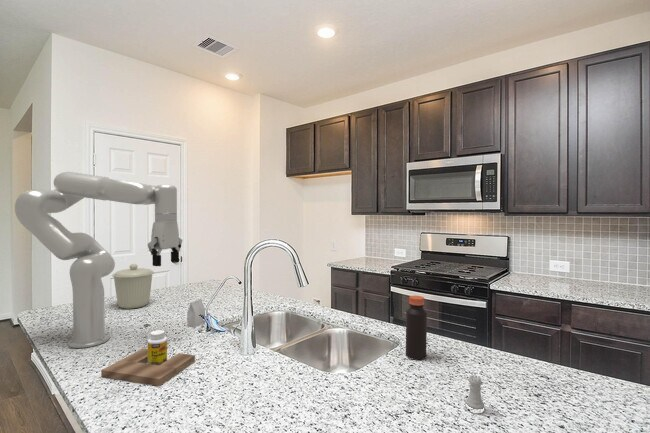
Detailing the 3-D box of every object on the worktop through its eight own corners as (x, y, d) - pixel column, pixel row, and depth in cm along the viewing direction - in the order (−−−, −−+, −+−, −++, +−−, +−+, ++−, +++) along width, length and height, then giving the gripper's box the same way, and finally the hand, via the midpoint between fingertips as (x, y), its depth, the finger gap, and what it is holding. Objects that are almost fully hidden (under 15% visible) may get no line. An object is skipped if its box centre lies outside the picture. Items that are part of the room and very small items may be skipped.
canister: (129, 300, 183) (129, 260, 182) (161, 301, 180) (161, 261, 180) (103, 310, 165) (103, 266, 164) (138, 312, 162) (137, 267, 162)
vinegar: (427, 354, 118) (428, 296, 118) (424, 362, 112) (425, 300, 112) (407, 350, 121) (408, 293, 121) (403, 358, 115) (404, 298, 114)
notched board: (101, 376, 101) (101, 370, 101) (142, 354, 116) (142, 348, 116) (159, 386, 96) (159, 379, 96) (194, 361, 111) (194, 355, 111)
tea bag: (204, 322, 149) (204, 299, 149) (195, 327, 143) (194, 303, 143) (197, 321, 150) (197, 298, 150) (187, 326, 144) (187, 302, 144)
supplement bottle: (148, 369, 105) (148, 336, 105) (146, 363, 110) (146, 331, 110) (168, 365, 108) (168, 333, 108) (165, 358, 113) (165, 327, 113)
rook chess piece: (461, 404, 88) (462, 373, 88) (478, 403, 88) (479, 373, 88) (470, 415, 84) (471, 382, 83) (488, 414, 84) (489, 381, 84)
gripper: (173, 217, 138) (173, 260, 139) (139, 218, 122) (140, 267, 122) (189, 217, 136) (189, 261, 137) (157, 219, 120) (158, 268, 120)
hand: (166, 263), depth 130 cm, fingers open, 9 cm apart
